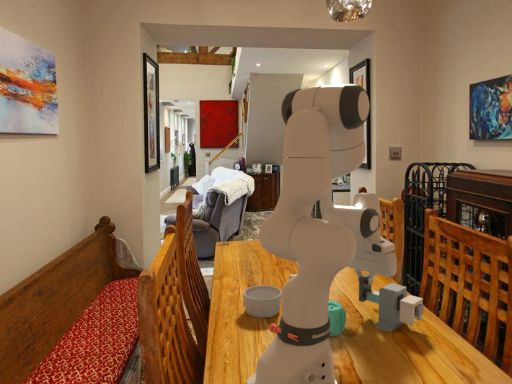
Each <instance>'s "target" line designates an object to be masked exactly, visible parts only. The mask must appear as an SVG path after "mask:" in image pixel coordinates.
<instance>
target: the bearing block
mask: <svg viewBox="0 0 512 384" xmlns="http://www.w3.org/2000/svg"><path fill="white" fill-rule="evenodd" d="M407 289H408V288H407V286H404V285H400V284H397V283H392V282H390V283H389V284H387V285H385V286H382V287H381V288H379V289H378V292H379V304H378V321H376V323H374V328H376V329H379V330H382V331H384V332H387V333H391V332H393V331H395V330H396V329H398V328H399V327H401V326H403V325H404V324H405V323H403V322H400V311H399V310H397V298H402V299H403V298H405V297H407Z"/></svg>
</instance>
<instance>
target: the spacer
mask: <svg viewBox="0 0 512 384" xmlns="http://www.w3.org/2000/svg"><path fill="white" fill-rule="evenodd" d="M423 301H424V299H423V298H422V297H419V296H415V295H411V294H409V295H406V297H405V298H403V299H402V300H400V322H403V323H404V324H406V325H409V326H412V327H414V325H415V320H418V321H422V320H423V314H422V315H421V316H419V317H418V316H415V307H416V306H417V305H419V304H422V305H423V306H424V304H423Z"/></svg>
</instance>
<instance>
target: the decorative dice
mask: <svg viewBox="0 0 512 384" xmlns="http://www.w3.org/2000/svg"><path fill="white" fill-rule="evenodd" d="M328 317H329V319H330V325H331V329H330V336H329V338H330V337H337V336H339V335H341V334H342V332H343V331H344V329H345V327H346V324H347V313H346V310H345V308H344V306H342V304H340V303H339V302H336V301H334V300H329V306H328Z"/></svg>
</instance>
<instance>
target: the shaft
mask: <svg viewBox="0 0 512 384" xmlns="http://www.w3.org/2000/svg"><path fill="white" fill-rule="evenodd" d="M369 277H370V275H369V273H367V274H364V275H363V276H361V277H359V282H358V301H359V302H362V303H364V302H366V301H368V302H371V303H374V304H378V305H379V290H374V289H372V285H368V284H366V279H368V278H369ZM400 300H402V298H397V310H399V311H400ZM421 315H422V316H423V315H424V304H423V305H422V304H419V305H417V306H416V307H415V316H418V317H419V316H421Z"/></svg>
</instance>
